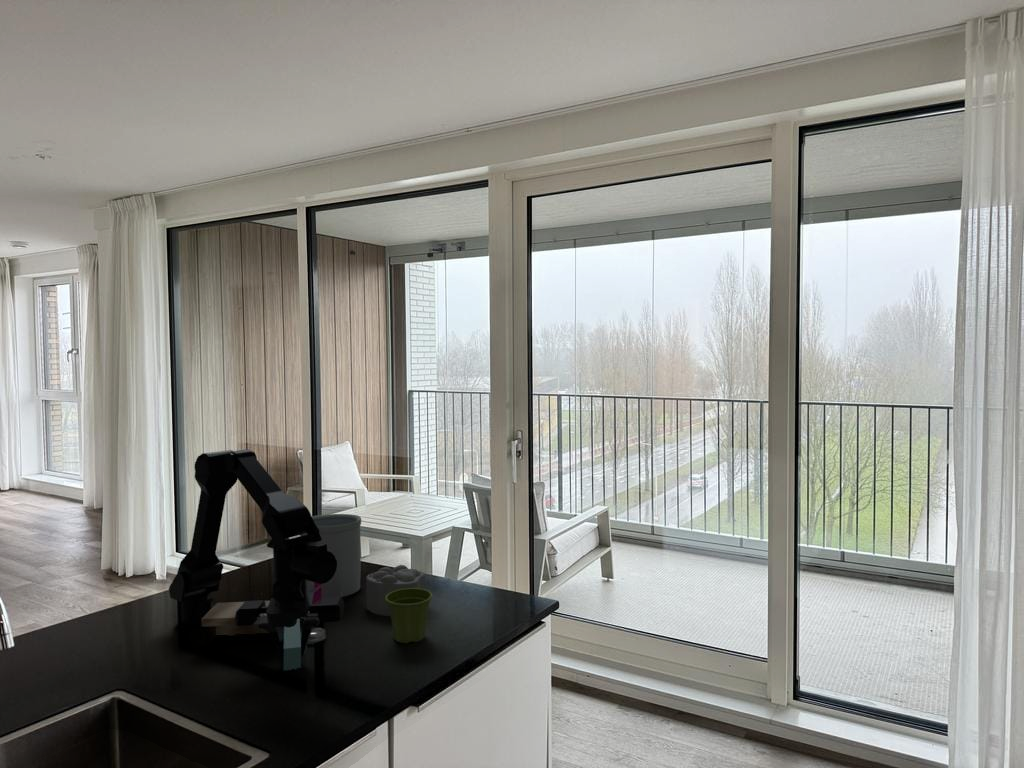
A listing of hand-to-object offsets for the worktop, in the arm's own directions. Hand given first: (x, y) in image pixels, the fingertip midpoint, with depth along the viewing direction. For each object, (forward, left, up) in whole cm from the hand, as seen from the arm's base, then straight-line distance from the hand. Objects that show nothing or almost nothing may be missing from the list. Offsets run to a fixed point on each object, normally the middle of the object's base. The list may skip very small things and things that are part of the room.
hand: (292, 656), depth 129 cm
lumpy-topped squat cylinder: (+17, +28, -2) cm, 32 cm away
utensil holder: (0, +42, -2) cm, 42 cm away
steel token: (+2, +11, -2) cm, 11 cm away
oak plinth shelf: (-11, +12, -1) cm, 16 cm away
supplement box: (-3, +25, -2) cm, 25 cm away
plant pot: (+21, +10, -2) cm, 23 cm away
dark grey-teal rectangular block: (-1, +5, -1) cm, 6 cm away
